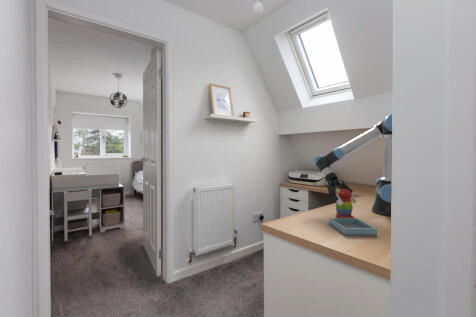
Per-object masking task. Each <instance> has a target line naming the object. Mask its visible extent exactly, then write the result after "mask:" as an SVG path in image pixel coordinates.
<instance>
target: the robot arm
mask: <svg viewBox="0 0 476 317" xmlns="http://www.w3.org/2000/svg"><path fill="white" fill-rule="evenodd" d="M392 113H393V112H392ZM392 113H389V114H388V115H387V116H386V117H384V118H383V119H382V120H381V121H379V122H378V123H376V124H374V126H373V128H371V129H368V130H367V131H365V132H364V133H362V134H360V135H358V136H356V137H355V138H353V139H351V140H349V141H347V142H346V143H344V144H342V145H341V146H338V147H336V148H333V149H332V150H331V151H329V152H328V153H327V154H326V155H320V154H319V155H317V156H315V157H314V158H313V163H314V165H315V166H316V168H317V169H318V171H319V173H320V174H321V176H322V177H323V178H324V180H325V186H326V189H327V192H328V196H330V197H331V198H333V199H334V200H335V201H336V203H337V202H338V204H339V206H341V205H342V204H343V202H342V200H341V199H340V196H339V194H338V193H337V190H336V188H337V189H339V190H341V189H347V190H349V191H350V192H351V194H352V196H351V198H350V199H351V202H352V205H354V204H355V205H356V203H358V200H357V199H356V197H355V196H354V195H353V192H354V190H352V189H351V188H350V186H348V185H347V184H346V183H345V182H344V181H343V180H342V179H341V180H339V177H338V175H337V174H336V172H335V171H334V170H333V168H332V167H331V166H332V165H333V164H335V163H337V162H338V161H340V160H342V159H343V158H344V157H346V156H348V155H349V154H351V153H353V152H355V151H357V150H359V149H361V148H363V147H365V146H367V145H368V144H370V143H373V142H374V141H376V140H378V139H380V138H384V152H383V165H382V166H383V167H382V168H383V169H382V176H381V177H380V178H376V179H375V180H376V181H375V195H374V196H375V197H374V202H373V204H372V207H371V212H373V213H374V214H377V215H382V216H388V217H389V216H391V165H392Z"/></svg>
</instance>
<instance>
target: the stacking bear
mask: <svg viewBox="0 0 476 317" xmlns="http://www.w3.org/2000/svg"><path fill="white" fill-rule="evenodd" d="M352 194H353V193H352ZM352 194H351V192H350V191H349V190H347V189H340V190H339V194H338V196H339V197H340V199H341V200H342V202H343V204H342V205H341V206H339V204H338V202H337V201H336V205H335V211H336V214H335V218H356V216H354V215H352V212H353V202H352V201H351V199H350V198H351V196H352Z"/></svg>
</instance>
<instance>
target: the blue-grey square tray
mask: <svg viewBox="0 0 476 317" xmlns="http://www.w3.org/2000/svg"><path fill="white" fill-rule="evenodd" d="M328 223H329V225H330V226H331V227H333V228H334V229H335V230H336V231H338V232H339V233H340V234H342V235H343V236H344V237H377V236H378V229H377V228H376V227H374V226H372V225H370V224H369V223H367V222H365V221H363V220H361V219H360V218H358V217H355V218H337V217H329V222H328Z"/></svg>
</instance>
